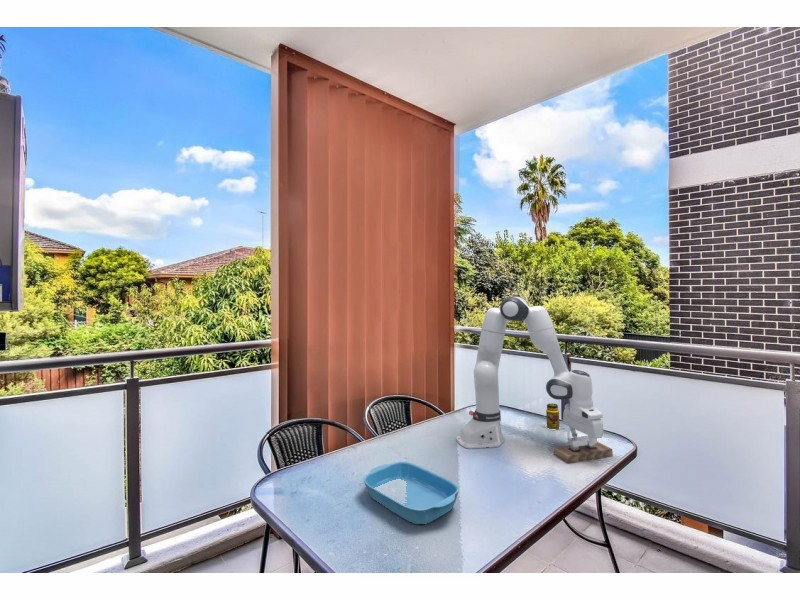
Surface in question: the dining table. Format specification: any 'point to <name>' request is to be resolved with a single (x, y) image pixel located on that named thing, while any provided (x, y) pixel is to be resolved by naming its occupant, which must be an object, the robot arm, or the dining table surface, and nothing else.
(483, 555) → the dining table surface
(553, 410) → the condiment
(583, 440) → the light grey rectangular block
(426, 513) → the casserole dish
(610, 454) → the brown wooden block
